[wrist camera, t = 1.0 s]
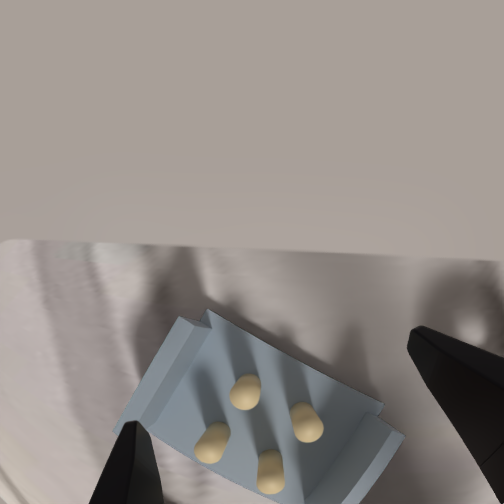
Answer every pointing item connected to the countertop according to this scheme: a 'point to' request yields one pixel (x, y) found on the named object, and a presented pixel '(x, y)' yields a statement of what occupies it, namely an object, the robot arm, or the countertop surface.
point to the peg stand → (261, 416)
